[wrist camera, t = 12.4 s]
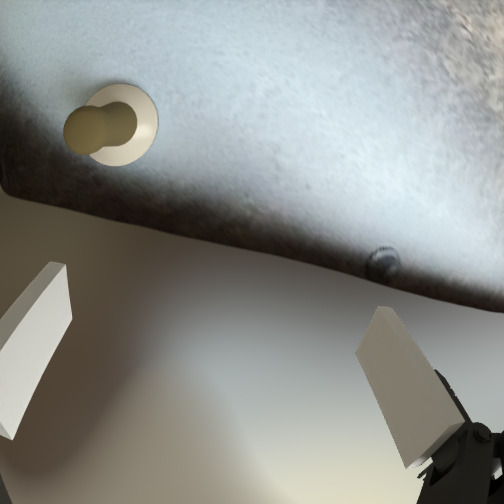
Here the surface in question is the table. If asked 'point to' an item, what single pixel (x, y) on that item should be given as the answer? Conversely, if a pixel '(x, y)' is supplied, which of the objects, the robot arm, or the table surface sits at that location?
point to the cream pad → (145, 123)
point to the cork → (99, 127)
